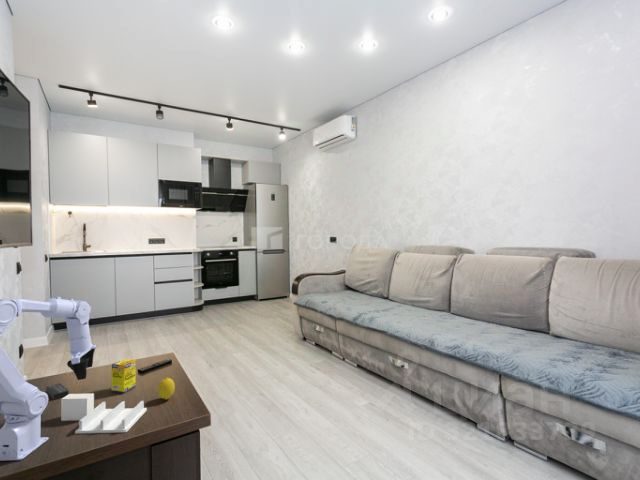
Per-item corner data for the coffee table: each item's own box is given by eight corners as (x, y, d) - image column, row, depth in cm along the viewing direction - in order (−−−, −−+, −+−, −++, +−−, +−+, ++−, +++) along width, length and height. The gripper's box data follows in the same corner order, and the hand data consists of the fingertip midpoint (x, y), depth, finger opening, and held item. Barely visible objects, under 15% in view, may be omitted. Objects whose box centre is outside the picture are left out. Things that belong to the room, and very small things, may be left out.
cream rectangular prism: (86, 420, 106) (87, 398, 106) (61, 420, 106) (61, 399, 106) (93, 414, 109) (93, 393, 110) (68, 415, 109) (69, 394, 109)
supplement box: (124, 393, 124) (124, 365, 124) (110, 392, 125) (111, 363, 125) (136, 387, 130) (136, 359, 130) (123, 385, 131) (123, 358, 131)
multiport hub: (54, 401, 119) (54, 394, 119) (45, 392, 126) (45, 386, 126) (68, 396, 123) (68, 390, 123) (59, 388, 129) (59, 382, 129)
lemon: (154, 401, 119) (154, 379, 119) (168, 394, 123) (168, 373, 124) (164, 404, 116) (164, 382, 116) (178, 398, 121) (178, 376, 121)
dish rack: (126, 432, 99) (126, 420, 99) (75, 433, 98) (75, 421, 98) (146, 410, 112) (146, 400, 112) (101, 411, 111) (101, 401, 111)
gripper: (87, 342, 104) (93, 381, 106) (99, 324, 117) (104, 359, 120) (60, 347, 101) (67, 386, 104) (75, 328, 115) (81, 364, 117)
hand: (85, 372), depth 111 cm, fingers open, 7 cm apart
